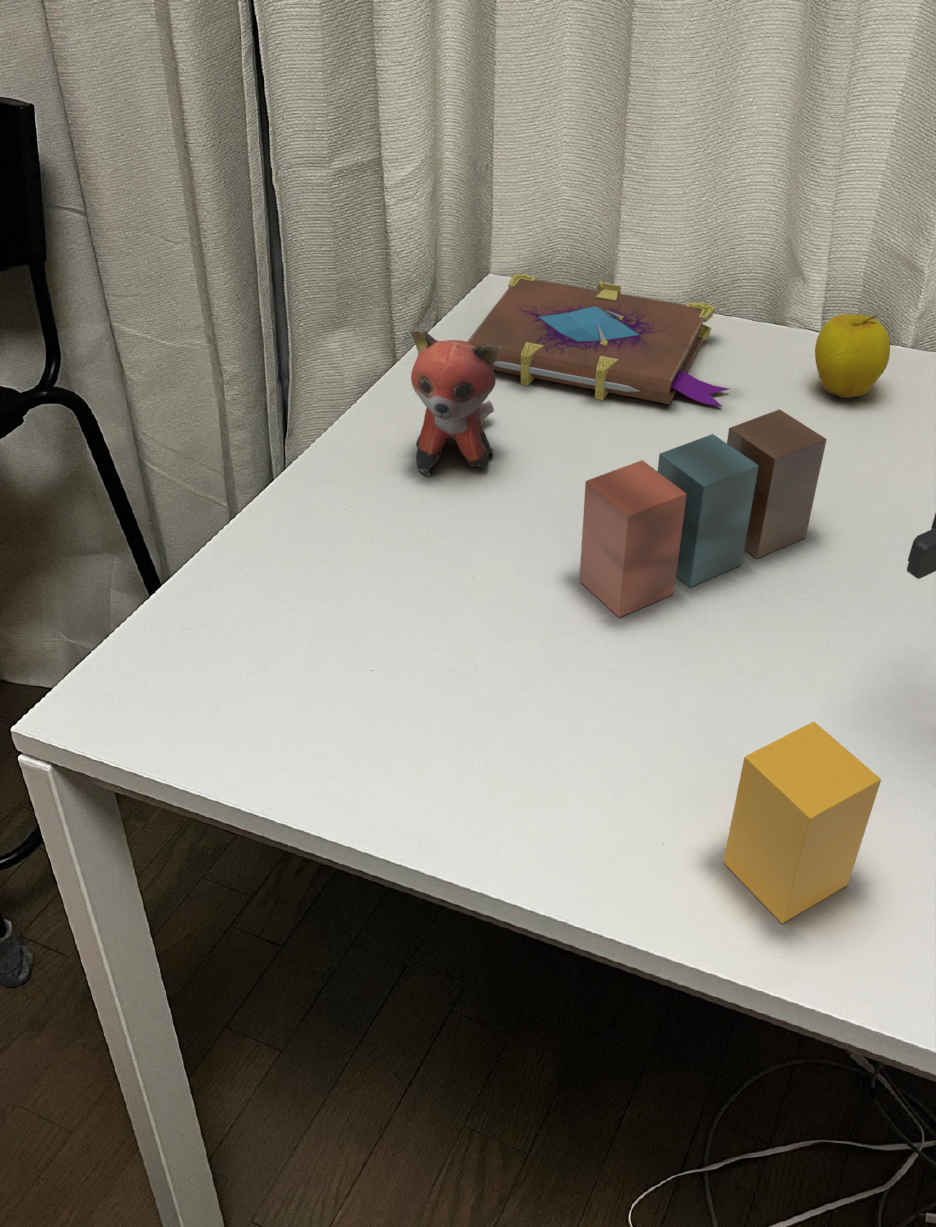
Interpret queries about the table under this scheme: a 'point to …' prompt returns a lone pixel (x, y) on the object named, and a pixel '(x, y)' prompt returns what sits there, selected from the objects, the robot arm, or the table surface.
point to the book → (598, 339)
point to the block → (799, 820)
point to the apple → (851, 354)
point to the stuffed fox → (453, 397)
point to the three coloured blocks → (698, 510)
